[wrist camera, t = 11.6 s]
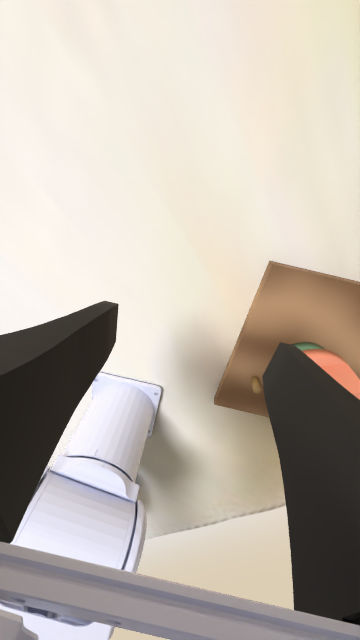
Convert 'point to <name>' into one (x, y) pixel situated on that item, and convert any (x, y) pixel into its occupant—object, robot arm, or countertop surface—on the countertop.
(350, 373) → the lid
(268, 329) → the board
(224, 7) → the countertop surface
